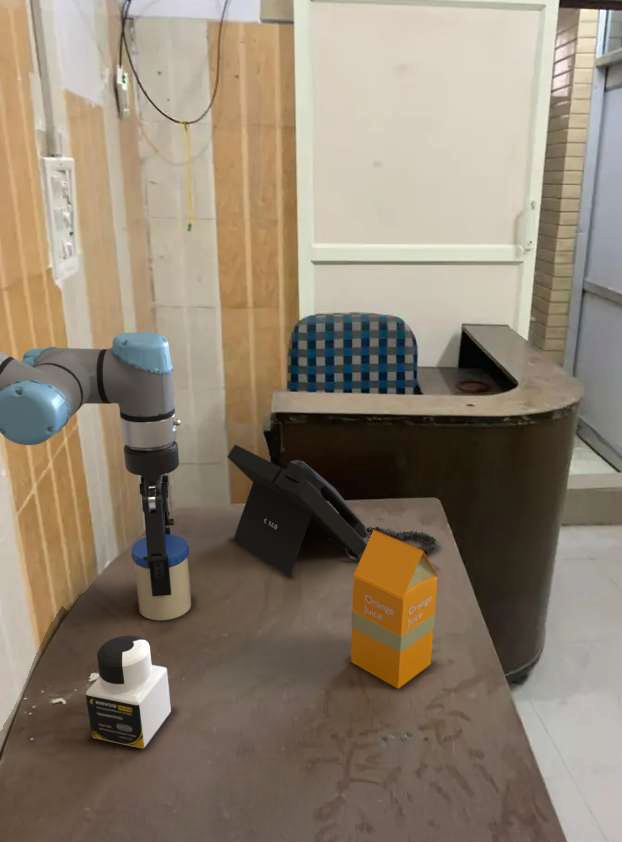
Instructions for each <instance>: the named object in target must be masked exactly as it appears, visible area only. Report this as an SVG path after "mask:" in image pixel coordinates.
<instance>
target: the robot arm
mask: <svg viewBox="0 0 622 842" xmlns="http://www.w3.org/2000/svg"><path fill="white" fill-rule="evenodd" d="M111 343H112V346H111V348H80V347H79V348H77V347H76V348H73V347H58V346H57V347H56V346H49V347H41V348H40V347H39V348H38V347H37V348H35V347H34V348H30V349H28V350H27V351H26V352H24V354H23V355H22V360H21V361H20V360H18V359H17V358H15V357H12V356H10V355H8V354H6V353H5V352H2V351H0V434H1V435H2V436H3V437H4V438H5V439H6V440H8V441H10V442H12V443H14V444H17V445H20V446H22V445H23V446H36V445H40V444H43V443H45V442H47V441H49V440H50V439H51V438H52V437H54V436H55V435H57V434H58V433H60V432H61V431H62V430H63V429H64V427H66V426H67V424H68V422H69V421H70V419H71V418H72V417H73V416H74V415H75V414H76V413H77V412H78V411H79V410H80V409H81V408H82V407H83V406H84V405H91V404H93V405H100V404H101V405H106V404H107V405H111V404H117V405H118V408H119V421H120V422H119V423H120V432H121V441H122V443H123V444H124V445H123V456H124V465H125V469H126V471H127V472H129V473H130V474H132V475H135V476H139V477H140V483H139V495H140V496H141V505H142V506H141V507H142V513H143V516H144V530H145V537H146V543H147V556H144V557H143V559H144V561H146V560H148V562H149V567H150V577H151V587H152V596H165V595H171V584H170V573H169V561H168V555H167V553H166V537H165V534H171V527H170V526H175V519H174V518H169V517H170V515H171V512H170V509H169V502H168V501H169V500H168V499H169V487H170V486H169V485H170V483H169V481H170V479H169V475H168V474H170V473H172V472H174V471H175V470H176V469H178V467H179V465H180V457H179V456H180V455H179V443H178V442H177V441H176V440H177V438H178V434H177V427H179V426H180V425H181V420H180V419H179V418H176V406H175V393H174V391H175V390H174V373H173V372H174V371H173V370H174V366H173V364H172V359H171V350H170V344H169V341H168V339H167V338H166V337H165V336H164V335H162V334H160V333H157V332H151V331H135V332H131V331H130V332H123V333H119V334H117V335H115V336H114V337H113V338H112V342H111ZM166 474H167V475H166Z"/></svg>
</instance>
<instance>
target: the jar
mask: <svg viewBox="0 0 622 842" xmlns="http://www.w3.org/2000/svg"><path fill="white" fill-rule="evenodd" d="M133 565H134V566H133V567H134V576H135V584H136V585H135V586H136V593H137V602H138V611H139V613H140V614H141V616H143V617H144V618H146V619H148V620H153V621H169V620H174V619H176V618H179V617H181V616H183V615H185V614H187V612H188V611H190V609H191V607H192V595H191V594H192V593H191V581H190V580H191V579H190V567H189V556H188V557H187V558H186V559H185V560H184V561H183V562H181V563H179V564H177V565H175V566H171V567H169V573H170V584H171V595H165V596H152V587H151V577H150V568H144V567H141V566H139V565H137V564H135V562H133Z"/></svg>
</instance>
